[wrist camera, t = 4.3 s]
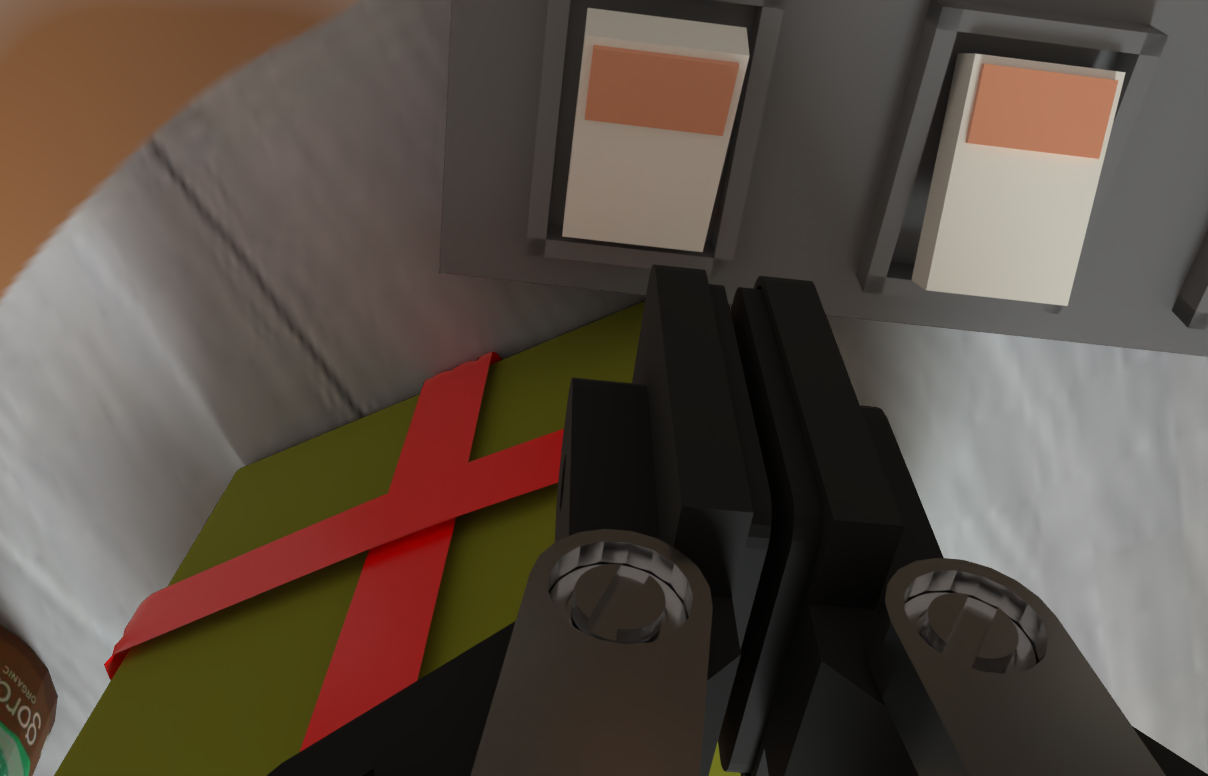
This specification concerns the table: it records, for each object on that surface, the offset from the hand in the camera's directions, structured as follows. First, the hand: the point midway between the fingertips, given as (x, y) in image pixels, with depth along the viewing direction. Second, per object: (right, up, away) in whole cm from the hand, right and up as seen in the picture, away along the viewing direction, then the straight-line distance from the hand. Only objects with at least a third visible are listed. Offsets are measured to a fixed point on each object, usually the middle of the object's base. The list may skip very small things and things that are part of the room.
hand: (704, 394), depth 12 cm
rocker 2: (+9, +5, +15) cm, 18 cm away
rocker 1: (0, +6, +14) cm, 16 cm away
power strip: (+9, +8, +19) cm, 22 cm away
